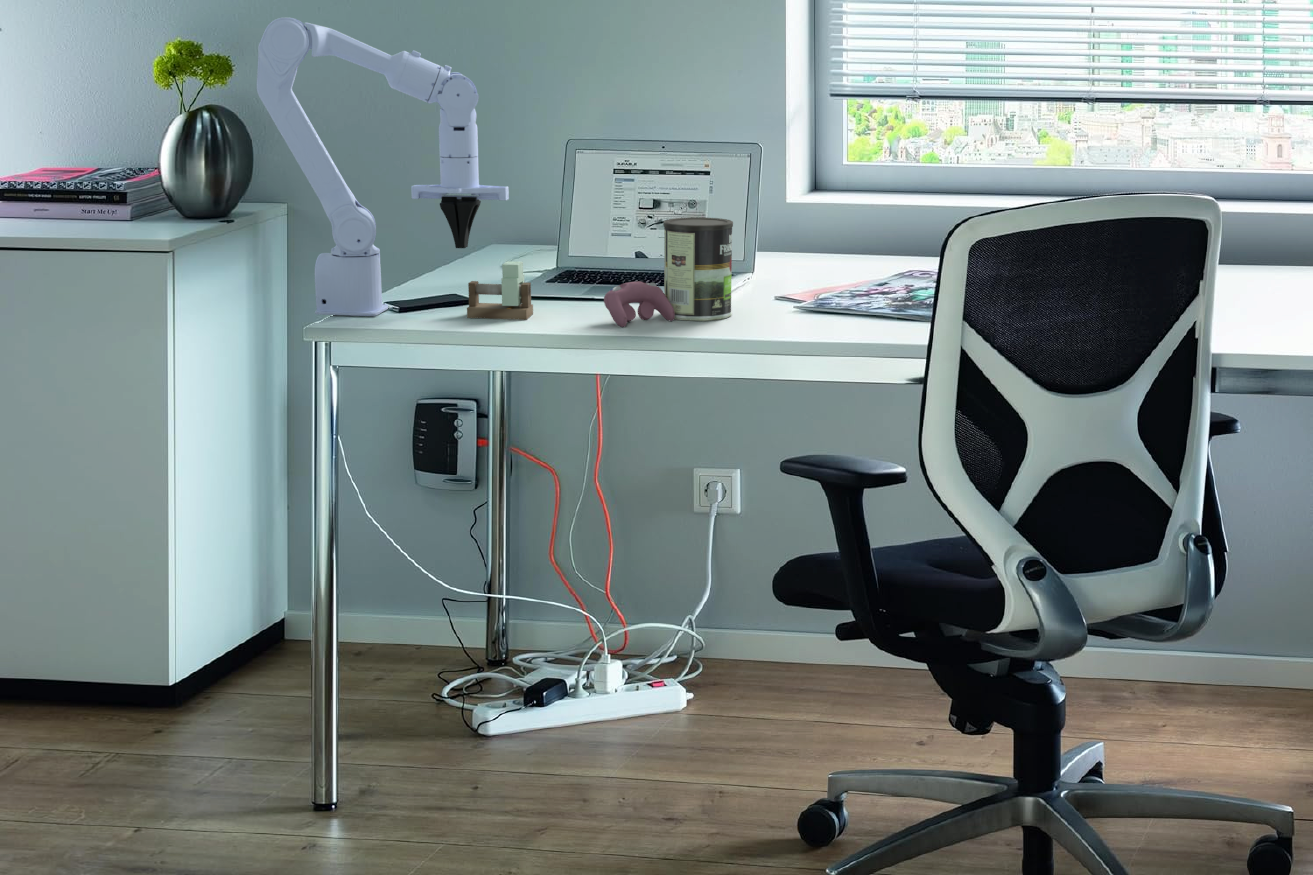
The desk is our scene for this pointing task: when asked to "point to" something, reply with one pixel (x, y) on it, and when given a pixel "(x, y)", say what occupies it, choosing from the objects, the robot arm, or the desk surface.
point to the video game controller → (641, 293)
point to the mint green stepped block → (511, 283)
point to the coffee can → (698, 267)
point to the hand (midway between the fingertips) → (461, 247)
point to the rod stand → (496, 308)
